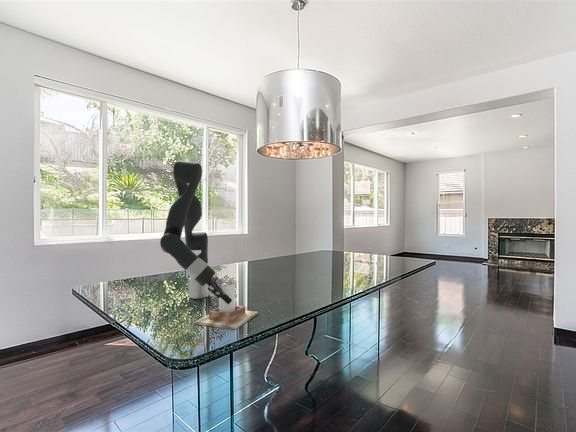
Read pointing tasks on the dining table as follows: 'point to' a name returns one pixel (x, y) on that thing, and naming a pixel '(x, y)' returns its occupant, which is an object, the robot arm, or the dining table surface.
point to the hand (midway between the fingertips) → (231, 299)
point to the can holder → (227, 318)
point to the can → (229, 291)
